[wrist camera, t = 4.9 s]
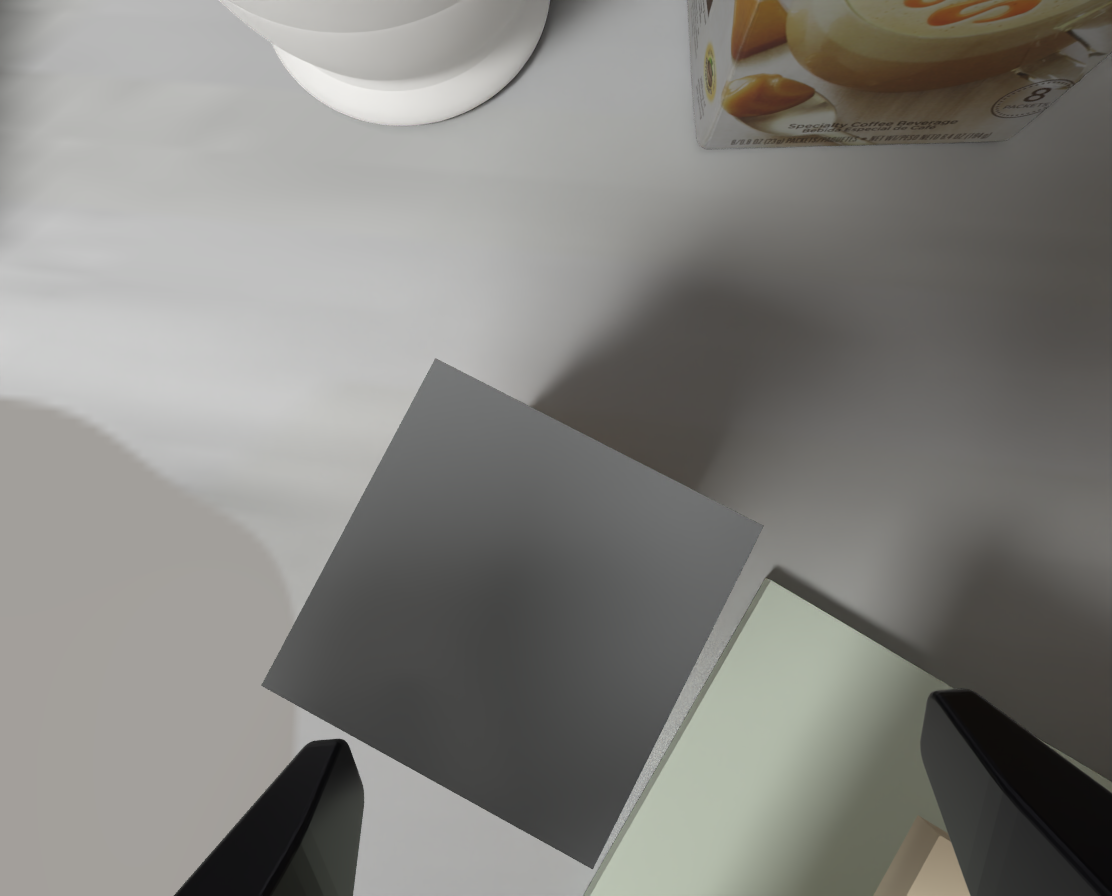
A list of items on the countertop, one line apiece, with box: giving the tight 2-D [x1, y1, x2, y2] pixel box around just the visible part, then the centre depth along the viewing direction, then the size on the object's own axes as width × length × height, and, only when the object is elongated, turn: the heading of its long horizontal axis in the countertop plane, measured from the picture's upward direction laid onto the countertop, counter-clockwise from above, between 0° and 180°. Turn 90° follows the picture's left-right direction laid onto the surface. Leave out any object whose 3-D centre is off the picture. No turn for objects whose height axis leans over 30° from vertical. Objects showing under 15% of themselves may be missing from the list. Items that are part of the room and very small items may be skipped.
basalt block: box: [262, 358, 763, 869], centre depth 14 cm, size 5×5×7 cm
